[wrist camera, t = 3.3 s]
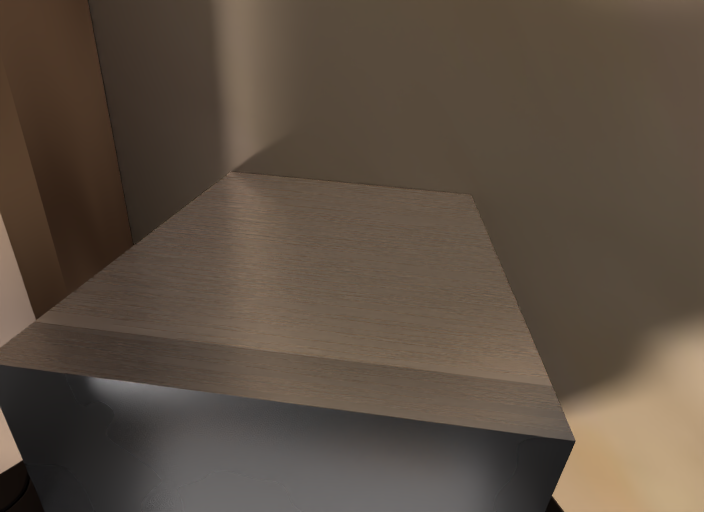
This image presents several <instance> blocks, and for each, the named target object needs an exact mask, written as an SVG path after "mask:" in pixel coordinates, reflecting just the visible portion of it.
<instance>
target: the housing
mask: <svg viewBox="0 0 704 512" xmlns="http://www.w3.org/2000/svg"><path fill="white" fill-rule="evenodd" d="M0 408H1V410H2V412H3V415H4V417H5V420H6V422H7V424H8V427H9V429H10V431H11V434H12V436H13V438H14V441H15V443H16V445H17V448H18V450H19V452H20V455H21V457H22V459H23V462H24V464H25V466H26V469H27V471H28V473H29V476H30V478H31V480H32V483H33V485H34V487H35V490H36V492H37V494H38V497H39V499H40V501H41V504H42V506H43V509H44V511H45V512H545V510H546V508H547V505H548V503H549V501H550V499H551V496H552V494H553V492H554V489H555V487H556V485H557V483H558V480H559V478H560V476H561V473H562V471H563V469H564V467H565V464H566V462H567V460H568V457H569V455H570V453H571V451H572V448H573V446H574V444H575V438H574V436H573V434H572V431H571V429H570V426H569V424H568V422H567V419H566V417H565V415H564V412H563V410H562V408H561V405H560V403H559V401H558V398H557V396H556V394H555V391H554V389H553V386H552V384H551V382H550V379H549V377H548V375H547V372H546V370H545V368H544V365H543V363H542V361H541V358H540V356H539V353H538V351H537V349H536V346H535V344H534V342H533V339H532V337H531V335H530V332H529V330H528V328H527V325H526V323H525V320H524V318H523V316H522V313H521V311H520V309H519V306H518V304H517V302H516V299H515V297H514V295H513V292H512V290H511V288H510V285H509V283H508V280H507V278H506V276H505V273H504V271H503V269H502V266H501V264H500V262H499V259H498V257H497V255H496V252H495V250H494V247H493V245H492V243H491V240H490V238H489V236H488V233H487V231H486V229H485V226H484V224H483V222H482V219H481V217H480V215H479V212H478V210H477V207H476V205H475V203H474V200H473V198H472V196H471V195H469V194H458V193H448V192H438V191H427V190H417V189H406V188H396V187H386V186H375V185H365V184H354V183H344V182H333V181H323V180H313V179H302V178H292V177H281V176H271V175H261V174H250V173H240V172H230V173H228V174H227V175H226V176H224V177H223V178H222V179H221V180H219V181H218V182H217V183H215V184H214V185H213V186H211V187H210V188H209V189H207V190H206V191H205V192H203V193H202V194H201V195H200V196H198V197H197V198H196V199H194V200H193V201H192V202H190V203H189V204H188V205H186V206H185V207H184V208H183V209H181V210H180V211H179V212H177V213H176V214H175V215H173V216H172V217H171V218H169V219H168V220H167V221H165V222H164V223H163V224H162V225H160V226H159V227H158V228H156V229H155V230H154V231H152V232H151V233H150V234H148V235H147V236H146V237H144V238H143V239H142V240H141V241H139V242H138V243H137V244H135V245H134V246H133V247H131V248H130V249H129V250H127V251H126V252H125V253H124V254H122V255H121V256H120V257H118V258H117V259H116V260H114V261H113V262H112V263H110V264H109V265H108V266H106V267H105V268H104V269H103V270H101V271H100V272H99V273H97V274H96V275H95V276H93V277H92V278H91V279H89V280H88V281H87V282H85V283H84V284H83V285H82V286H80V287H79V288H78V289H76V290H75V291H74V292H72V293H71V294H70V295H68V296H67V297H66V298H65V299H63V300H62V301H61V302H59V303H58V304H57V305H55V306H54V307H53V308H51V309H50V310H49V311H47V312H46V313H45V314H44V315H42V316H41V317H40V318H38V319H37V320H36V321H34V322H33V323H32V324H30V325H29V326H28V327H27V328H25V329H24V330H23V331H21V332H20V333H19V334H17V335H16V336H15V337H13V338H12V339H11V340H9V341H8V342H7V343H6V344H4V345H3V346H2V347H0Z"/></svg>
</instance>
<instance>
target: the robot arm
mask: <svg viewBox="0 0 704 512" xmlns="http://www.w3.org/2000/svg"><path fill="white" fill-rule="evenodd" d="M0 512H45V511H44V509H43V506H42V504H41V501H40V499H39V497H38V494H37V492H36V490H35V487H34V485H33V483H32V480H31V478H30V476H29V473H28V471H27V469H26V466H25V464H24V462H23V460H22V461H20V462H18V463H17V464H15V465H14V466H12V467H10V468H9V469H7V470H6V471H4V472H2V473H1V474H0ZM545 512H564V511H563V510H562V508H561V507H560V506H559V504H558V503H557V502H556V500H555V499H554V498H553V496H551V499H550V501H549V503H548V505H547V508H546V510H545Z"/></svg>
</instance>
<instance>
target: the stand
mask: <svg viewBox="0 0 704 512" xmlns="http://www.w3.org/2000/svg"><path fill="white" fill-rule="evenodd" d="M131 247H133V242H132V236H131V231H130V226H129V220H128V215H127V210H126V204H125V199H124V193H123V188H122V183H121V177H120V172H119V167H118V161H117V156H116V150H115V145H114V140H113V134H112V129H111V124H110V118H109V113H108V107H107V102H106V97H105V91H104V86H103V81H102V75H101V70H100V64H99V59H98V54H97V48H96V43H95V38H94V32H93V27H92V21H91V16H90V11H89V5H88V0H0V347H2V346H3V345H4V344H6V343H7V342H8V341H9V340H11V339H12V338H13V337H15V336H16V335H17V334H19V333H20V332H21V331H23V330H24V329H25V328H27V327H28V326H29V325H30V324H32V323H33V322H34V321H36V320H37V319H38V318H40V317H41V316H42V315H44V314H45V313H46V312H47V311H49V310H50V309H51V308H53V307H54V306H55V305H57V304H58V303H59V302H61V301H62V300H63V299H65V298H66V297H67V296H68V295H70V294H71V293H72V292H74V291H75V290H76V289H78V288H79V287H80V286H82V285H83V284H84V283H85V282H87V281H88V280H89V279H91V278H92V277H93V276H95V275H96V274H97V273H99V272H100V271H101V270H103V269H104V268H105V267H106V266H108V265H109V264H110V263H112V262H113V261H114V260H116V259H117V258H118V257H120V256H121V255H122V254H124V253H125V252H126V251H127V250H129V249H130V248H131ZM22 460H23V459H22V457H21V455H20V452H19V450H18V448H17V445H16V443H15V441H14V438H13V436H12V434H11V431H10V429H9V427H8V424H7V422H6V420H5V417H4V415H3V412H2V410H1V408H0V474H1V473H2V472H4V471H6V470H7V469H9V468H10V467H12V466H14V465H15V464H17V463H18V462H20V461H22Z"/></svg>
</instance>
